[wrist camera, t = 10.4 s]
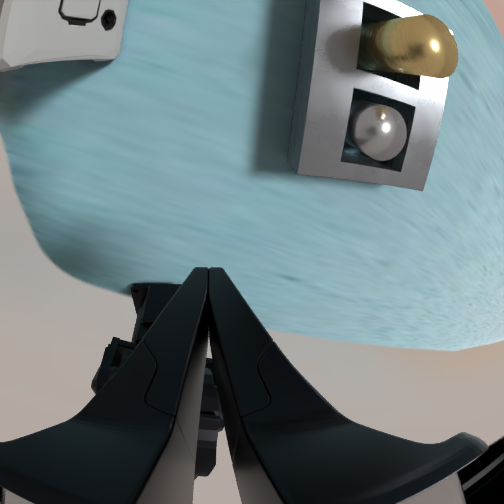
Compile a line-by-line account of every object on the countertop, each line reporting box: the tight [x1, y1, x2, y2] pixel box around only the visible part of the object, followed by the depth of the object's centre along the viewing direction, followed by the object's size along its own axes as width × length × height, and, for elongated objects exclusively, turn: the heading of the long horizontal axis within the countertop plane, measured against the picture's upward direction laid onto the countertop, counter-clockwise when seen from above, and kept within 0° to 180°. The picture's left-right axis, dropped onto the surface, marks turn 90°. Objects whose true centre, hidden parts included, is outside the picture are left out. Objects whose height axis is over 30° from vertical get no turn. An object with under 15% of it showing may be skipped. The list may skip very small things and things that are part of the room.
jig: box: [287, 0, 453, 191], centre depth 15 cm, size 13×10×3 cm
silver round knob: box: [345, 99, 407, 161], centre depth 16 cm, size 4×4×4 cm
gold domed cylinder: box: [357, 14, 458, 79], centre depth 11 cm, size 4×4×7 cm
